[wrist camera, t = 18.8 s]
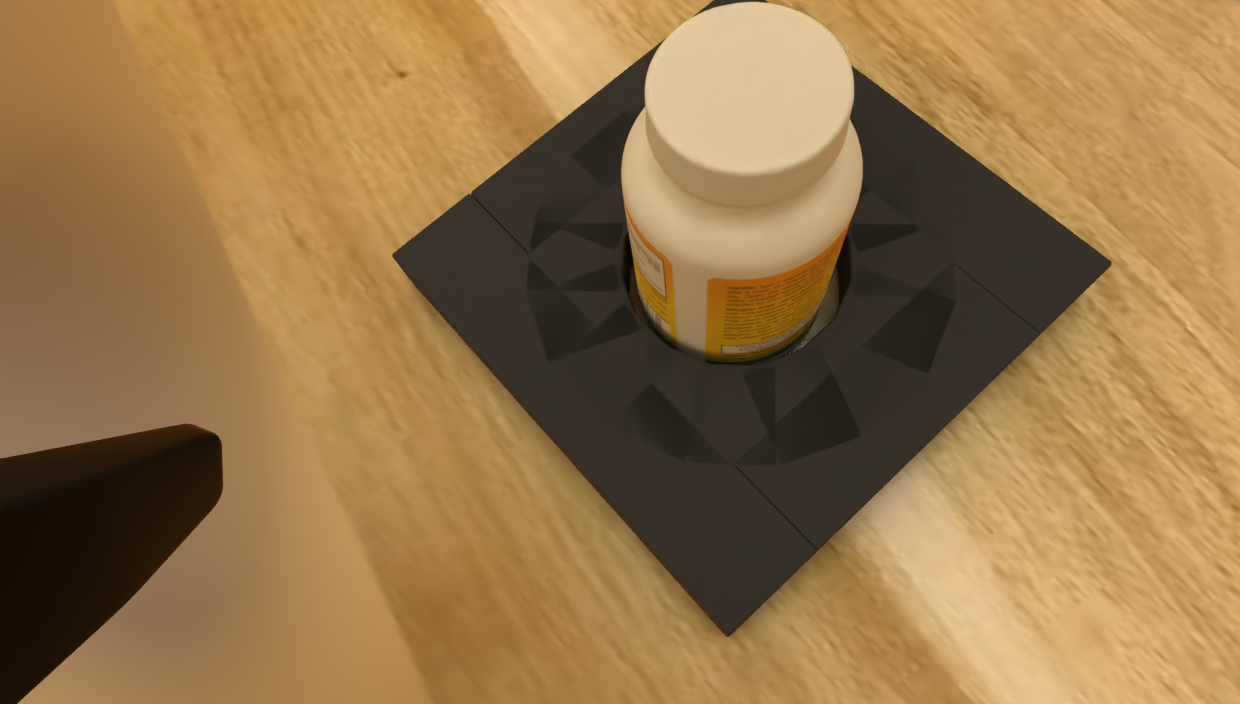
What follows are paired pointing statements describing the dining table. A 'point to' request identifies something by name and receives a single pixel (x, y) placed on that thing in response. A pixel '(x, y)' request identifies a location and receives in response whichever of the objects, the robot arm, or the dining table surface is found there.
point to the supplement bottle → (741, 181)
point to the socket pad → (746, 394)
